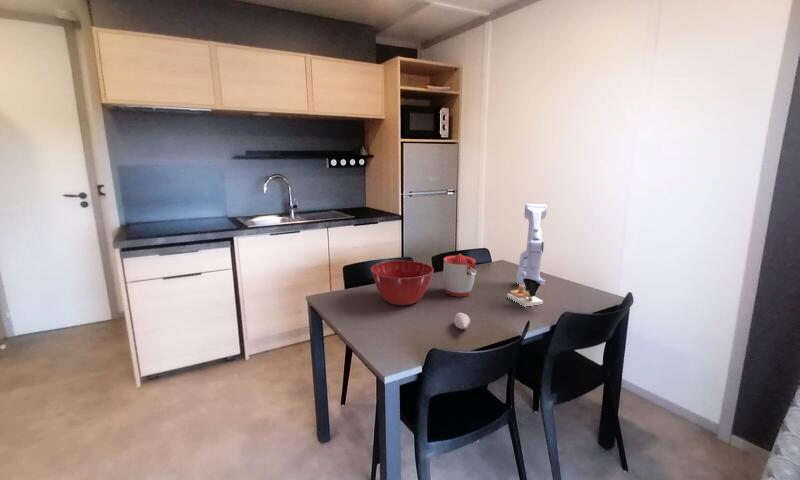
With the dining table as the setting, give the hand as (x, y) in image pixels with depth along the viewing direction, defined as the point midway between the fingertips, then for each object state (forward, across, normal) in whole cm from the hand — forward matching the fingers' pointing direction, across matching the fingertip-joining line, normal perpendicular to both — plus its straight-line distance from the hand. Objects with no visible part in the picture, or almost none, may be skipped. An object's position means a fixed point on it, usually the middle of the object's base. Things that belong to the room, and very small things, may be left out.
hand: (530, 295), depth 175 cm
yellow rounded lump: (+2, -2, 0) cm, 3 cm away
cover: (+2, -7, 0) cm, 7 cm away
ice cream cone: (+5, +14, -43) cm, 45 cm away
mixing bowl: (+5, -23, -54) cm, 59 cm away
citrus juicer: (+5, -22, -24) cm, 33 cm away
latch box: (+4, -4, 0) cm, 6 cm away
